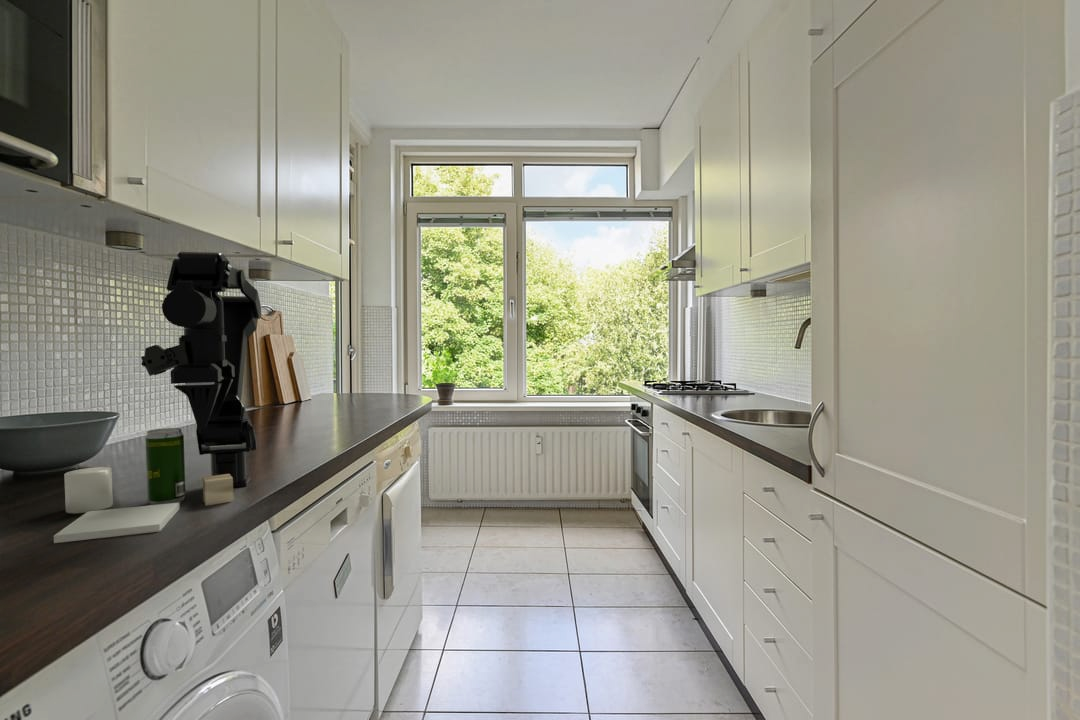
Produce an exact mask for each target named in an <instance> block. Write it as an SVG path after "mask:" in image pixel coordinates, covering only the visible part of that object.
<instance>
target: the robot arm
mask: <svg viewBox="0 0 1080 720" xmlns="http://www.w3.org/2000/svg"><path fill="white" fill-rule="evenodd" d="M169 271H170V273H169V276H168V281H167V284H166V290H167V291H168V292H169V293H168V294H167V295H166V296H165V298H163V301H162V304H161V311H162V314H163V315H164V318H165V319H166V320H167V321H168V322H169V323H171V324H172V325H175V326H176V327H182V328H183V334H182V335H181V334H180V336H179V338H178V344H177V345H174V346H172V347H167V348H163V347H161V345H159V344H154V345H151V346H148V347H145V350H144V355H143V356H142V355H141V357H140V358H141V360H142V361H141V366H142V367H143V368H144V367H145V369H146V371H147V374H148V375H149V377H152V376H157V375H160V374H164V373H166V372H167V371H168V370H170V384H173V387H174V389H176V390H178V391H180V392H181V393H183V394H184V395H185V396H187V399H188V402H189V405H190V408H191V410H192V411H191V412H192V414H193V417H194V420H195V424H196V429H195V430H196V431H195V432H196V440H197V446H198V453H199V455H200V456H202V455H209V456H210V476H216V475H223V474H230V475H231V476H232V478H233V488H234V487H235V488H236V487H244V486H245V487H246V486H247V485H248V484H249V482H250V480H251V475H247V467H246V466H247V465H246V464H247V463H246V453H250V452H252V451H256V450H257V448H258V446H257V444H258V443H257V435H256V431H255V426H253V425H252V422H251V419H250V417H249V415H248V412H247V410H246V408H245V406H244V404H243V403H242V395H243V394H242V393H243V384H244V373H245V372H244V371H245V364H246V363H245V362H246V353H247V343H248V342H247V341H248V339H249V338H250V337H251V336H252V335H253V334H254V333H255V332H256V330H257V328H258V320H260V319H261V317H262V306H261V301H260V295H259V292H258V290H257V288H255V286H253V284H251V283H250V282H249V281H248V280H247V279H246V275H245V271H244V269H240V268H238V267H236V268H235V267H234V266H232V265H231V264H230V261H229V260H228V258H227V257H226V256H225V255H224V254H223V252H209V251H208V252H207V251H206V252H205V251H204V252H203V251H179V252H178V253H177V258H173V260H172V263H171V268H170V270H169ZM226 290H240V293H241V294H243V296H242V295H241V296H238V295H236V296H235V295H234V296H233V295H230V296H229V295H226V296H225V295H222V296H221V295H220V294H219V293H225V292H226ZM174 384H176V385H174Z"/></svg>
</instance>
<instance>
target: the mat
mask: <svg viewBox="0 0 1080 720" xmlns="http://www.w3.org/2000/svg"><path fill="white" fill-rule="evenodd" d="M180 506H181V505H180V502H178V503H170V504H159V505H150V504H149V505H140V506H132V507H131V506H129V507H120V508H110V509H102V510H98V511H88V512H86V513H84V514H82V515H81V516H79V518H77V519H75V520H74V521H73V522H71V523H70V524H68V525H67V526H65V527H64V528H62V529H61V530H60V531H58V532H56V534H54V535H53V544H58V543H59V544H60V543H68V542H75V541H76V542H77V541H86V540H93V539H104V538H111V537H123V536H131V535H139V534H147V533H149V534H150V533H155V532H156V533H158V532H161V531H162V530H163V528H165V526H166V525H167V524H168V523H169V521H170V520H171V519H172V518H173V517H174V516H175V514H176V513H177V512H178V511H179V510H180Z"/></svg>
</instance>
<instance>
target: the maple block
mask: <svg viewBox="0 0 1080 720" xmlns="http://www.w3.org/2000/svg"><path fill="white" fill-rule="evenodd" d="M202 498H203V499H202V500H203V503H204V505H205V506H213V505H217V504H224V503H231V502H234V487H233V478H232V476H231V475H230V474H223V475H216V476H211V475H210V476H209V475H208V476H202Z"/></svg>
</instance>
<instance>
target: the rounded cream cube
mask: <svg viewBox="0 0 1080 720" xmlns="http://www.w3.org/2000/svg"><path fill="white" fill-rule="evenodd" d="M112 472H113V471H112V468H111V467H106V466H102V467H101V466H100V467H99V466H98V467H88V468H87V467H86V468H80V469H75V470H71V471H67V472H65V473H64V474H63V475H64V476H63V477H64V497H65V499H64V500H65V503H64V504H65V512H66V513H67V514H83V513H84V514H85V513H87V512H88V511H98V510H107V509H108V508H111V507H112V506H113V505H114V501H113V498H114V497H113V479H112V478H113V476H112V475H113V474H112Z"/></svg>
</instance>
